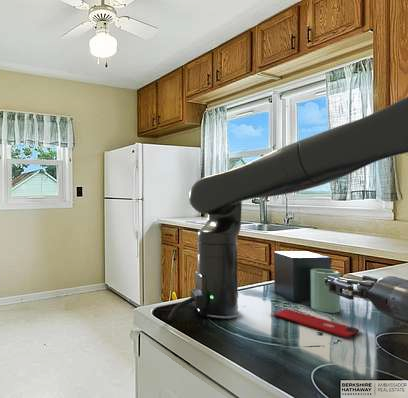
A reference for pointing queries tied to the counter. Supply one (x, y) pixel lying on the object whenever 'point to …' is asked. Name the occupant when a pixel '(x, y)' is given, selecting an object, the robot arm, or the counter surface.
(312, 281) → the jar
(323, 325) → the electronic device
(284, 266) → the dark gray box
